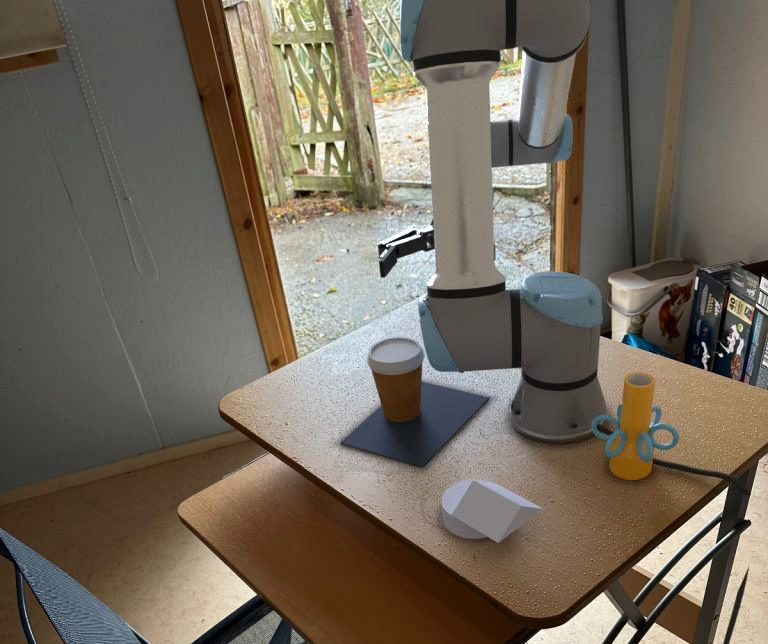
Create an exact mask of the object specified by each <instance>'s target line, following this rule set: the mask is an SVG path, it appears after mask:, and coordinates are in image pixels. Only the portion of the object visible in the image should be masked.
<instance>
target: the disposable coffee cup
mask: <svg viewBox="0 0 768 644" xmlns="http://www.w3.org/2000/svg"><path fill="white" fill-rule="evenodd" d="M425 357H426V351H425V349H423V348H422V345H421V343H420V342H419V341H418V340H417V339H415V338H411V337H405V336H395V337H393V336H392V337H387V338H385V339H384V338H383V339H381V340H378V341H377V342H375V343H374V344H372V345H371V346H370V347H369V349H368V354H367V356H366V363H367V365H368V367H369V368H370V370H371V374H372V378H373V381H374V385H375V389H376V391H377V396H378V399H379V402H380V406H382V409H383V413H384V416H385V418H386V419H388V420H390V421H393V422H406V421H410V420H412V419H414V418H416V417H417V416H418V415H419V414H420V404H421V383H422V382H423V381H422V379H423V363H424V360H425Z"/></svg>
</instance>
